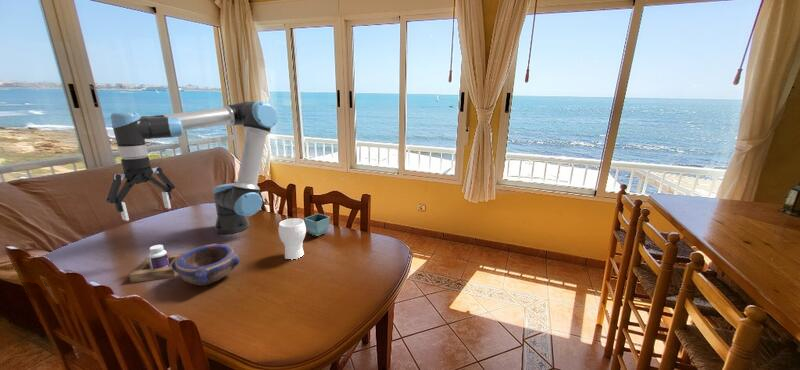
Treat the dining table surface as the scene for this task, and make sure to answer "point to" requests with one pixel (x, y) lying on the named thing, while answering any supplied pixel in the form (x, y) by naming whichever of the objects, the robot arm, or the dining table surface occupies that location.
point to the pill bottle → (158, 257)
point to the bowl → (206, 264)
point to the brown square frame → (153, 270)
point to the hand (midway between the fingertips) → (148, 213)
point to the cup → (292, 237)
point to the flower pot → (317, 224)
